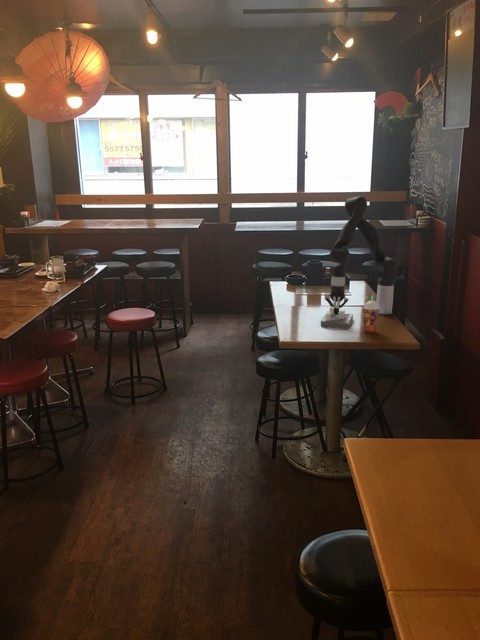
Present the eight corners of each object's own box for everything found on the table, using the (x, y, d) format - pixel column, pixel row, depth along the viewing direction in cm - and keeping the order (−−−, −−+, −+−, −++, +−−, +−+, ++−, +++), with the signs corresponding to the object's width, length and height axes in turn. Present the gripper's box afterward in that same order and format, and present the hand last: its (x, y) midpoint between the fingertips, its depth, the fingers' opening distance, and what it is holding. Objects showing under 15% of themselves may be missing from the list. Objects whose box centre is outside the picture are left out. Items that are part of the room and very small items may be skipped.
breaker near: (331, 318, 310) (331, 311, 309) (329, 321, 306) (330, 314, 305) (327, 318, 311) (327, 311, 310) (325, 320, 306) (325, 313, 305)
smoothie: (366, 328, 304) (368, 292, 298) (380, 331, 299) (383, 295, 293) (358, 332, 298) (361, 295, 292) (373, 335, 293) (376, 298, 287)
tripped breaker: (344, 316, 314) (345, 309, 313) (343, 319, 310) (343, 312, 309) (340, 316, 315) (340, 309, 314) (339, 318, 310) (339, 311, 309)
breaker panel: (352, 319, 321) (353, 314, 320) (348, 329, 303) (348, 323, 302) (326, 317, 325) (327, 312, 324) (320, 326, 307) (320, 321, 306)
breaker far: (334, 312, 322) (335, 306, 321) (333, 315, 318) (333, 308, 316) (330, 312, 323) (331, 305, 322) (329, 314, 318) (329, 307, 317)
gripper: (351, 283, 310) (349, 313, 314) (327, 281, 314) (325, 311, 318) (349, 286, 303) (347, 317, 308) (324, 284, 307) (323, 314, 312)
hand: (336, 314), depth 313 cm, fingers closed
